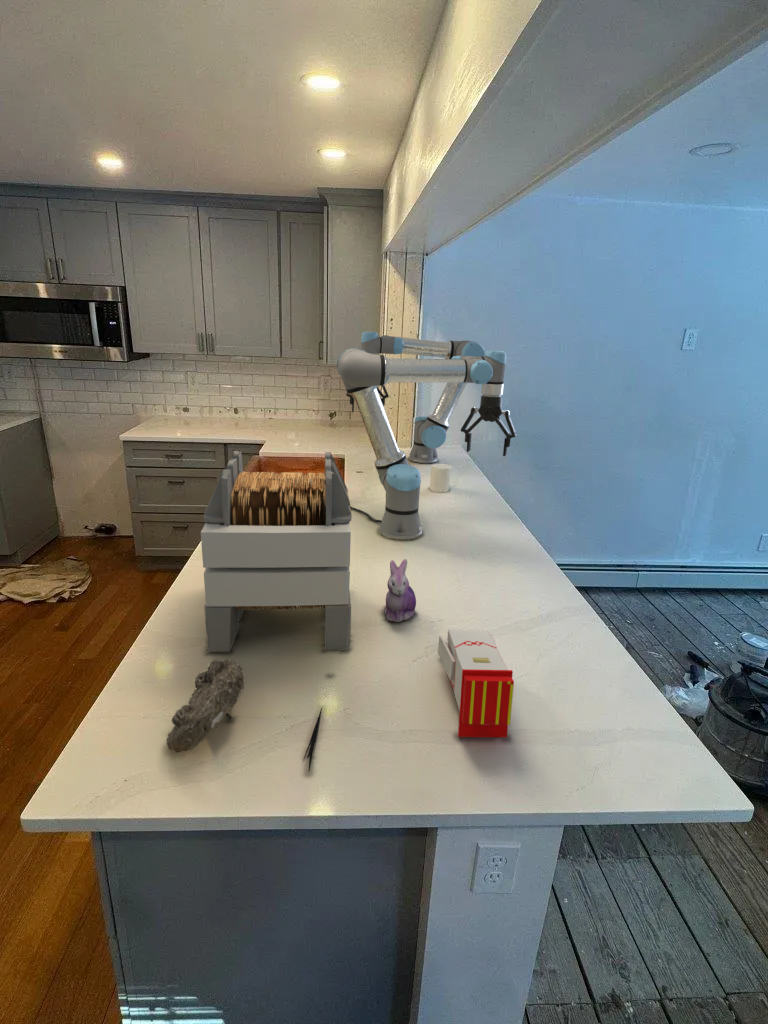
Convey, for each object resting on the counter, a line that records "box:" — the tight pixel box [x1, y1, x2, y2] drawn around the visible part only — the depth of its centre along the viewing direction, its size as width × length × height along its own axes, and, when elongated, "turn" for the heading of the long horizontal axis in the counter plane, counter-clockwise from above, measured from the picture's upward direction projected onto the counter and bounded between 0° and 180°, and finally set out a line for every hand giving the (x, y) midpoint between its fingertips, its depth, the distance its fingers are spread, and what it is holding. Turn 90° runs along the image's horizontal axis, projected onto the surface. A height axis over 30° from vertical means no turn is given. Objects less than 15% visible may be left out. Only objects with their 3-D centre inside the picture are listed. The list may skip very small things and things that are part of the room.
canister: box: [429, 463, 452, 493], centre depth 250 cm, size 8×8×11 cm
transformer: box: [200, 450, 353, 653], centre depth 138 cm, size 34×33×41 cm
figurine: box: [384, 558, 417, 623], centre depth 145 cm, size 9×10×15 cm
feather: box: [301, 673, 332, 771], centre depth 108 cm, size 2×28×2 cm
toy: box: [437, 628, 515, 738], centre depth 117 cm, size 12×13×30 cm
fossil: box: [166, 658, 245, 754], centre depth 106 cm, size 22×10×15 cm
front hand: (486, 453), depth 210 cm, fingers open, 13 cm apart
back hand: (367, 411), depth 272 cm, fingers open, 13 cm apart
